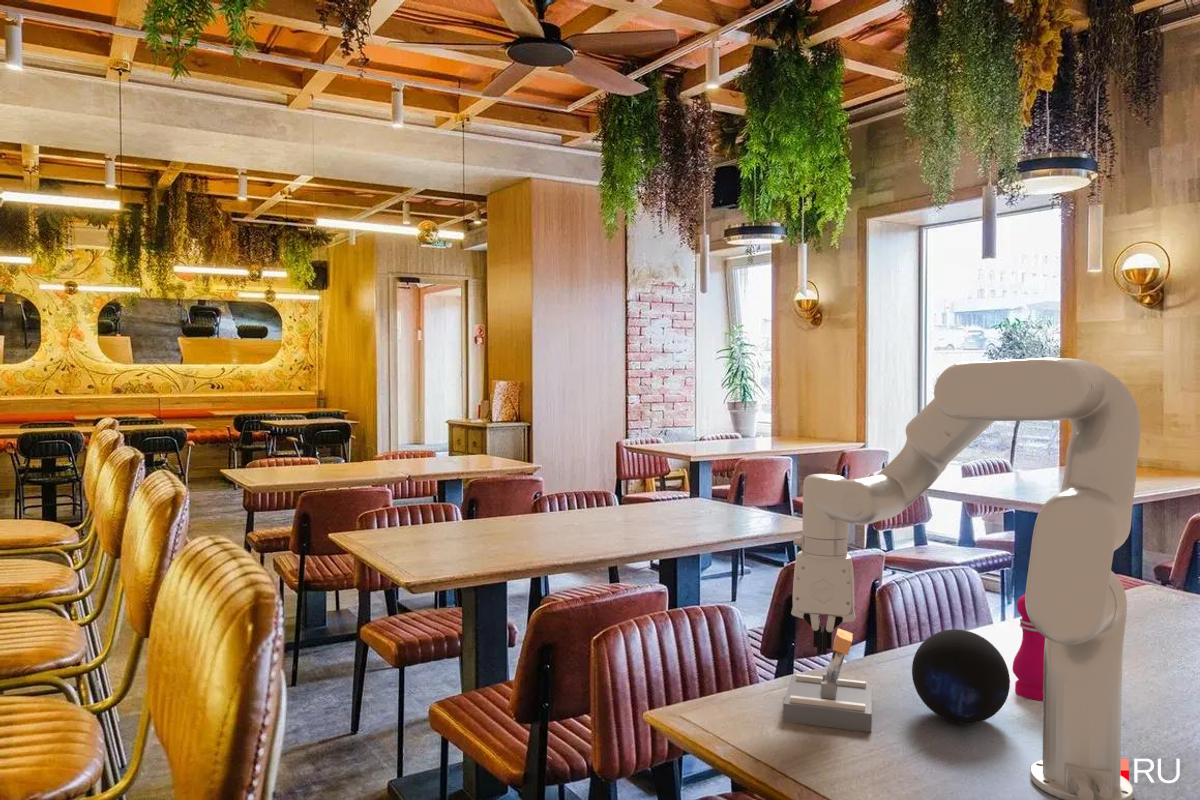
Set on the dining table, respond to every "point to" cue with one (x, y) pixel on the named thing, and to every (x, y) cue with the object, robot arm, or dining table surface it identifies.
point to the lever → (838, 654)
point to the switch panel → (829, 703)
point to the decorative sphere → (960, 676)
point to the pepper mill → (1029, 658)
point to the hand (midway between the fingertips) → (822, 651)
